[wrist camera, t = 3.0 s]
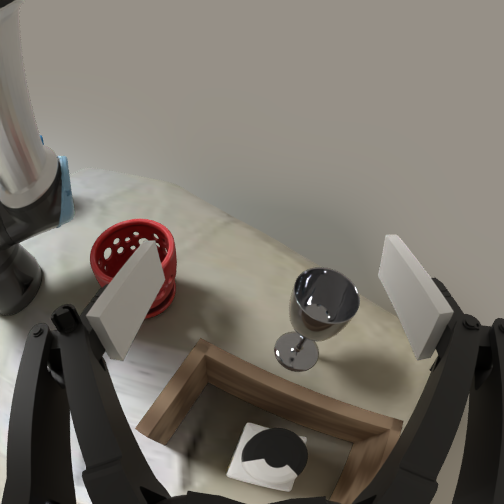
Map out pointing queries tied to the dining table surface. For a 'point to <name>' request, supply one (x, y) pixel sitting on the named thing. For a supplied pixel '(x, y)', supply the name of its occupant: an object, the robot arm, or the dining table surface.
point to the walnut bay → (276, 411)
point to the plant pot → (119, 259)
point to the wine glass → (315, 315)
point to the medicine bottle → (268, 457)
